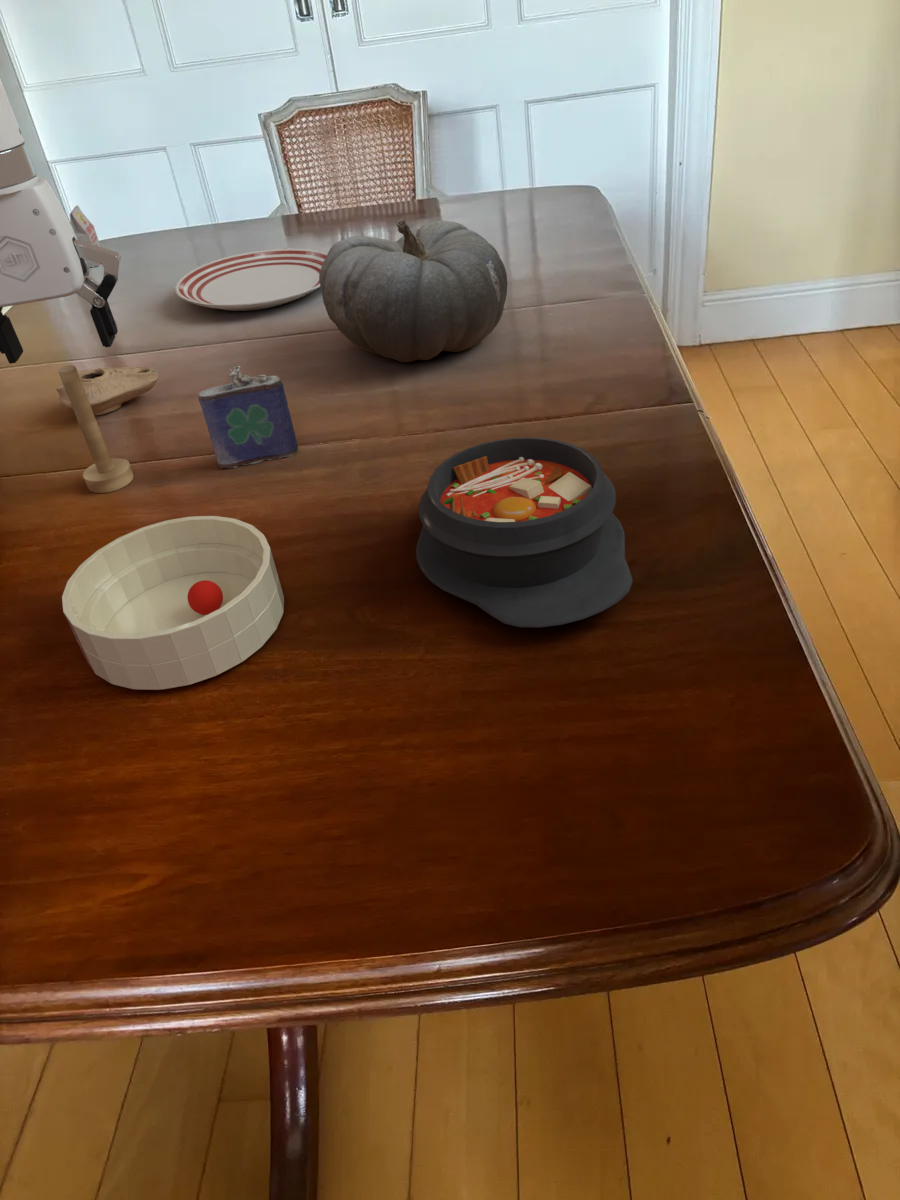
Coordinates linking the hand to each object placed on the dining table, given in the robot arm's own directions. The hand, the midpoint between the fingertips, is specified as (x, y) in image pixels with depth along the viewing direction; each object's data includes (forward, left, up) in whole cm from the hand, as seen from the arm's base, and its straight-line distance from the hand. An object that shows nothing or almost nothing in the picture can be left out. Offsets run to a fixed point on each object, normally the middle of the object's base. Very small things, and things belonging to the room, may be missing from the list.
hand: (63, 350), depth 92 cm
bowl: (+12, -30, -16) cm, 36 cm away
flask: (+17, 0, -16) cm, 23 cm away
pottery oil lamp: (-3, +21, -16) cm, 26 cm away
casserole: (+42, -28, -16) cm, 53 cm away
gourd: (+39, +27, -16) cm, 50 cm away
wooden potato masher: (0, 0, -16) cm, 16 cm away
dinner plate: (+15, +60, -16) cm, 64 cm away
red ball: (+14, -29, -13) cm, 35 cm away
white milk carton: (-21, +95, -16) cm, 98 cm away
